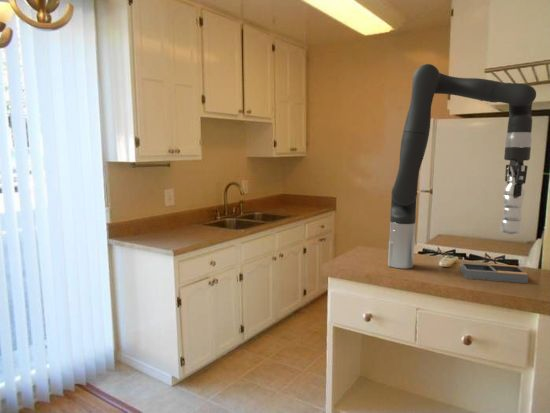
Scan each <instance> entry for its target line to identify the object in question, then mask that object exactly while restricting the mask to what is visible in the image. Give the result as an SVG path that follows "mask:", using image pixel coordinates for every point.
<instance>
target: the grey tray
mask: <svg viewBox="0 0 550 413" xmlns="http://www.w3.org/2000/svg"><path fill="white" fill-rule="evenodd" d="M459 271H460V272H461V273H462V275H463V276H464V277H465V279H467V280H478V281H491V282H504V283H518V284H519V283H520V284H528V283H529V281H528V279H529V274H528V273H527V272H525V271H524V270H523V269H521V268H520V267H519V266H517V265H510V264H496V263H495V264H494V263H489V264H483V263H482V264H481V263H472V262H471V263H469V262H468V263H467V262H461V263H460V270H459Z"/></svg>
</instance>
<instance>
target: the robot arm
mask: <svg viewBox="0 0 550 413" xmlns="http://www.w3.org/2000/svg"><path fill="white" fill-rule="evenodd" d="M435 94H436V95H438V94H439V95H452V96H456V97H457V96H458V97H463V98H468V99H472V100H477V101H483V102H488V103H503V104H507V105H508V122H507V132H506V137H505V146H504V157H503V158H504V160H505V161H509V164H506V165H505V176H504V177H505V178H504V180H505V182H506V186H507V185H508V184H509V182H508V180H509V176H512V179H514V190H513V196H521V191H522V187H523V185H524V184H526V180H527V173H528V165H525V163H524V162H525V161H529V160H530V158H531V149H532V131H533V117H532V109H533V108H532V107H533V103H534V101H535V100H536V98H537V90H536V88H534V87H533V86H532V85H529V84H526V83H525V84H524V83H518V82H517V83H516V82H514V83H513V82H502V81H497V80H493V79H486V78H477V77H476V78H474V77H458V76H457V77H456V76H450V75H447V74H444V73H441V72H440V70H439V69H438V68H437V66H435V65H434V64H431V63H426V64H422V65H420V66H419V67H418V68H417V69H416V70H415V72H414V73H413V76H412V87H411V96H410V105H409V108H408V111H407V114H406V119H405V122H404V125H403V130H402V136H401V140H400V149H399V165H398V170H397V174H396V178H395V181H394V184H393V186H392V189H391V201H390V202H391V203H390V223H389V240H388V256H387V257H388V259H387V264H388V267H390V268H394V269H395V268H396V269H412V268H413V267H414V255H415V254H414V253H415V236H416V219H417V218H416V216H417V215H416V214H417V212H416V211H417V196H418V185H419V175H420V170H421V167H422V163H423V160H424V156H425V153H426V150H427V146H428V142H429V137H430V131H431V120H432V117H431V116H432V104H433V101H434V97H435ZM519 179H520V180H519Z"/></svg>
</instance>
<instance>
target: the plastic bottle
mask: <svg viewBox="0 0 550 413" xmlns="http://www.w3.org/2000/svg"><path fill="white" fill-rule="evenodd" d="M519 180H520V179H519ZM508 182H509V184H508V183H507V184H508V185H507V184H506V185H505V187H504V188H503V190H502V202H503V203H502V206H503V208H502V210H503V211H502V216H501V220H500V222H499V223H500V224H499V230H500V231H501V232H502V233H505V234H508V235H515V234H520V233H521V232H522V229H523V222H522V207H523V201H524V198H525V189H524V187H523V186H522V191H521V196H513V190H514V179H512V176H509V180H508Z"/></svg>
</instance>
